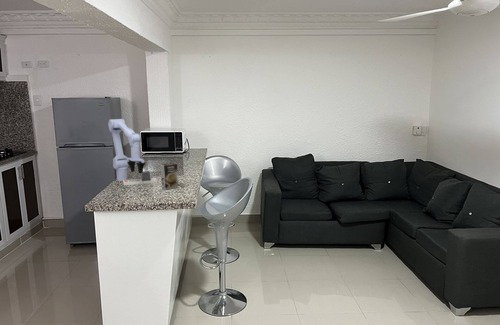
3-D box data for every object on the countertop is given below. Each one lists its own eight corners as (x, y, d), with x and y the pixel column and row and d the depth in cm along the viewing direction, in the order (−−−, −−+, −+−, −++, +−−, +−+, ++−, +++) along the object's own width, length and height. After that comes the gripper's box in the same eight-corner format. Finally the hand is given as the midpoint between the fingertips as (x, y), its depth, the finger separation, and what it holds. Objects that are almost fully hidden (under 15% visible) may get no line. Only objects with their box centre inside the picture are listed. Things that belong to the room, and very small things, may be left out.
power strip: (123, 183, 260) (122, 179, 260) (155, 181, 268) (155, 176, 268) (124, 186, 252) (123, 182, 251) (157, 183, 260) (157, 179, 259)
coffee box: (165, 190, 244) (164, 165, 241) (161, 188, 249) (160, 164, 246) (178, 187, 249) (177, 163, 246) (174, 186, 254) (173, 162, 251)
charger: (142, 181, 263) (141, 171, 261) (149, 180, 265) (148, 170, 263) (142, 182, 258) (142, 172, 257) (150, 182, 260) (149, 172, 259)
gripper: (123, 152, 250) (124, 172, 252) (137, 154, 242) (139, 174, 244) (132, 150, 256) (133, 170, 258) (146, 152, 248) (147, 172, 250)
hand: (136, 172), depth 252 cm, fingers open, 7 cm apart
